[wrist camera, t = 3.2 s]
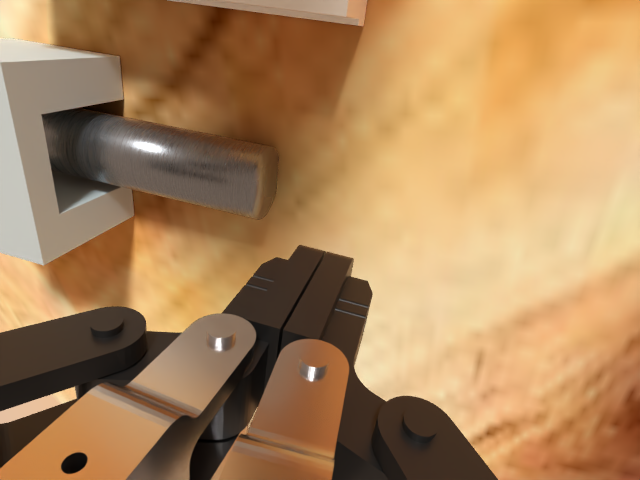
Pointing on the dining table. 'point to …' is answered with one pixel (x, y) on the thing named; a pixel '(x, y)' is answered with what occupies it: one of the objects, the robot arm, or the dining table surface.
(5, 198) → the bearing block
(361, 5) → the cradle
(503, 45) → the dining table surface
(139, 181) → the axle
